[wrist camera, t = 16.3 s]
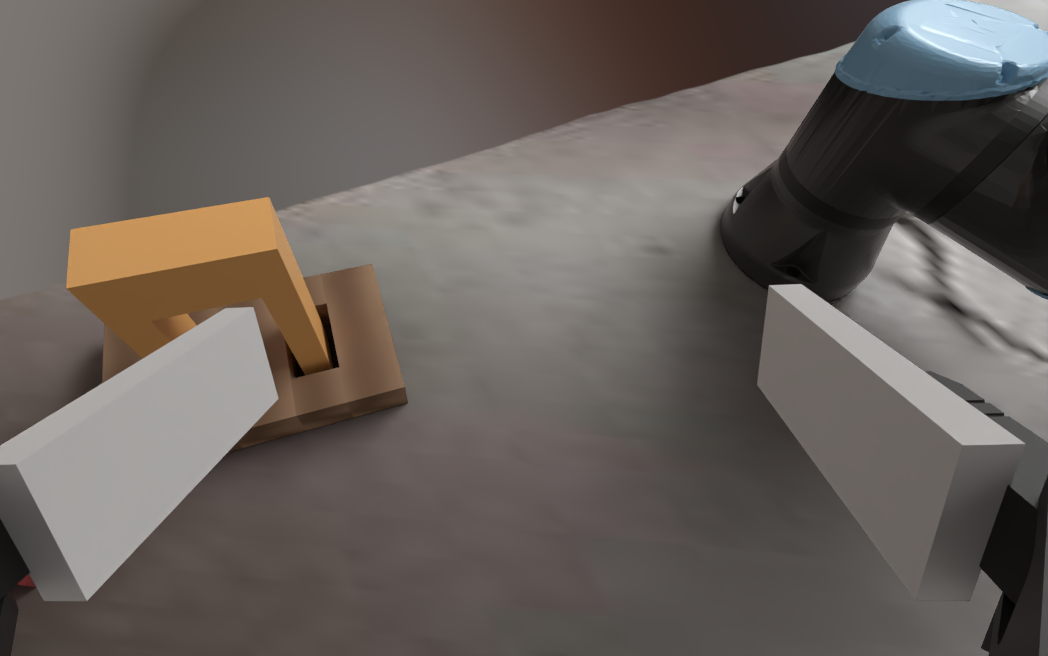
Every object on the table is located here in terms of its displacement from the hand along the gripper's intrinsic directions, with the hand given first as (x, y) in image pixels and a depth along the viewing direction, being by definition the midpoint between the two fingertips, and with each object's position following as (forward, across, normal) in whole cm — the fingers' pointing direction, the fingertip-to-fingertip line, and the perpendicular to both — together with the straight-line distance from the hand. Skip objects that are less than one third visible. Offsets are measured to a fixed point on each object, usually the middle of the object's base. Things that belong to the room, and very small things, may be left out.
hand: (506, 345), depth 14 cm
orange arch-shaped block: (+24, -22, -12) cm, 35 cm away
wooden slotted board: (+24, -22, -12) cm, 35 cm away
